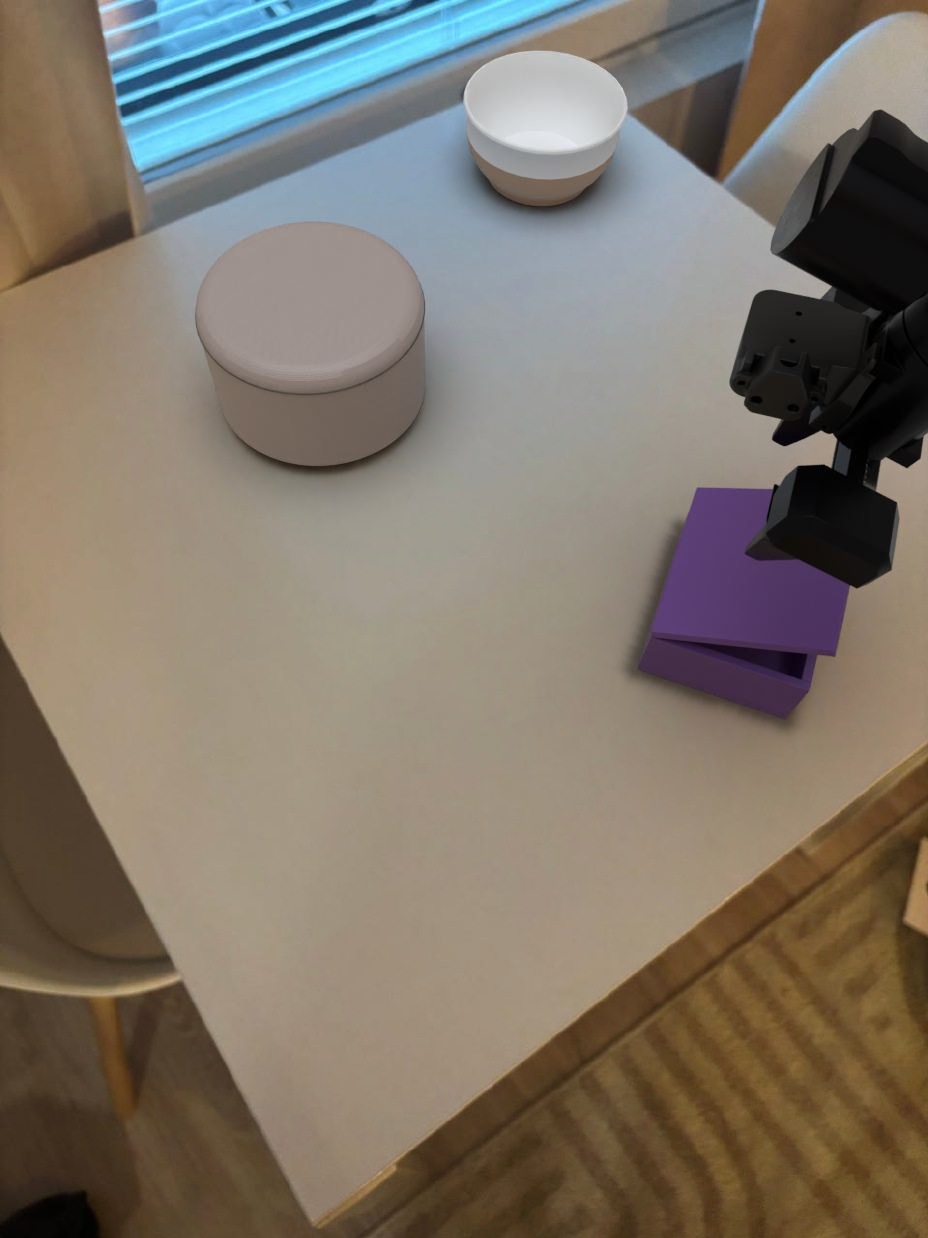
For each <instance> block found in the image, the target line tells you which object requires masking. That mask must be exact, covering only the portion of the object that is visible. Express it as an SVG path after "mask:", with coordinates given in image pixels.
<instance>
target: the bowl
mask: <svg viewBox="0 0 928 1238" xmlns="http://www.w3.org/2000/svg"><path fill="white" fill-rule="evenodd" d="M463 91H464V92H463V98H462V99H463V108H464V110H465V113H466V127H465V132H466V137H467V144H468V147H469V151H470V154H471V156H472V158H473V160H474V162H475V163H476V166H477V167H478V168H479V171H480V172H481V173H482V174H483V175H484V176H485V177H486V178H487V179H488V181H489V183H490V185H491V186H492V188H493V189H495V191H496V192H497V193H499V194H500V195H502V196H503V197H504V198H506V199H508V200H510V201H512V202H515V203H519V204H522V205H526V206H532V207H551V206H557V205H561V204H562V205H563V204H565V203H567V202H570V201H572V200H574V199H575V198H577V197H579V195H581V194H582V192H584V191H585V190H586V188H587V187H589V186H590V185H592V184H594V182H595V181H597V180H598V178H600V176H601V175H602V174H603V173H604V171H605V170H606V169H607V168H608V167H609V165H610V163H611V161H612V160H613V157H614V154H615V151H616V149H617V147H618V143H619V139H620V131H621V128H622V127H623V125H624V124H625V122H626V120H627V115H628V112H629V111H628V110H629V107H628V105H629V104H628V98H627V96H626V93H625V90H624V89H623V86H622V85H621V84H620V82H619V81H618V80H617V78H616V77H615V76H613V75H612V74H611V73H610V72H609V71H607V70H606V69H605V68H603V67H602V66H600V65H598V64H597V63H595V62H593V61H591V60H589V59H585V58H583V57H581V56H577V55H574V54H571V53H565V52H559V51H554V50H527V51H519V52H513V53H509V54H506V55H502V56H500V57H497V58H494V59H493V60H491V61H489V62H487V63H485V64H484V65H482V66H481V67H480V68H478V70H476V71H475V72H474V73H473V74H472V76H471V77H470V78H469V80H468V81H467V83H466V86H465V88H464V90H463Z"/></svg>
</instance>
